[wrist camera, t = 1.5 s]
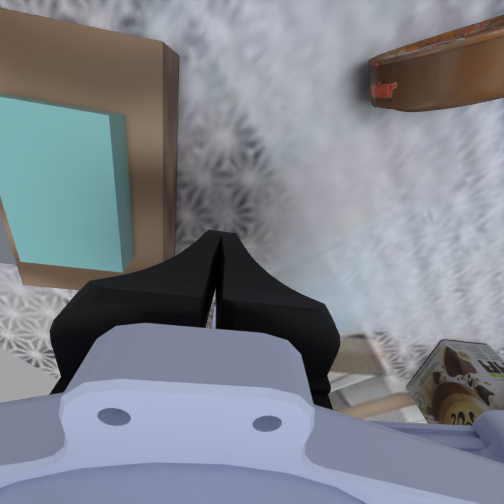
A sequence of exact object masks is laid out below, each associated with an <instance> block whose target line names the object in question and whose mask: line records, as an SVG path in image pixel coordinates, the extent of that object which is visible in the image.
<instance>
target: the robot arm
mask: <svg viewBox="0 0 504 504" xmlns="http://www.w3.org/2000/svg"><path fill="white" fill-rule="evenodd" d="M215 288H216V304H215V305H214V313H213V321H212V329H210V328H206V324H207V320H208V316H209V312H210V308H211V304H212V300H213V296H214V292H215ZM50 339H51V344H52V348H53V351H54V354H55V358H56V361H57V365H58V368H59V371H60V375H61V378H60V379H59V381H58V382H57V384H56V385H55V387H54V389H53V390H52V391H51V393H50V394H49V395H45V396H39V397H32V398H27V399H21V400H14V401H8V402H2V403H0V504H504V410H490V411H487V412H485V413H483V414H481V415H480V416H479V417H478V418H477V419H476V420H475V421H474V423H473V425H472V426H466V425H445V424H424V423H403V422H382V421H366V420H363V419H359V418H356V417H353V416H350V415H347V414H343V413H340V412H337V411H334V410H333V409H332V405H331V402H330V399H329V396H328V393H330V391H331V386H330V383H329V380H328V377H327V375H328V373H329V371H330V369H331V366H332V364H333V362H334V360H335V358H336V356H337V354H338V351H339V347H340V335H339V332H338V330H337V328H336V325H335V323H334V321H333V319H332V316H331V314H330V313H329V311H328V309H327V307H326V305H325V304H323V303H321V302H318V301H316V300H314V299H311V298H309V297H307V296H304V295H302V294H300V293H298V292H296V291H295V290H293V289H291V288H289V287H287V286H286V285H284V284H282V283H281V282H280V281H278V280H277V279H275V278H274V277H272V276H271V275H270V274H269V273H267V272H266V271H265V270H264V269H263V268H262V267H261V266H260V265H259V264H258V263H257V262H256V261H255V260H254V259H253V258H252V257H251V255H250V254H249V253H248V251H247V250H246V248H245V247H244V245H243V244H242V242H241V241H240V239H239V237H238V235H237V234H236V233H229V232H222V231H214V230H208V231H207V232H205V233H204V234H203V235H202V236H201V237H200V238H199V239H198V240H197V241H196V242H194V243H193V244H192V245H191V246H189V247H188V248H187V249H185V250H184V251H182V252H181V253H179V254H178V255H176V256H174V257H172V258H170V259H168V260H166V261H164V262H162V263H159V264H157V265H154V266H151V267H149V268H146V269H143V270H140V271H136V272H132V273H128V274H124V275H120V276H114V277H109V278H103V279H97V280H89V281H88V282H87V283H86V284H85V285H84V286H83V287H82V288H81V289H80V290H79V291H78V292H77V294H76V295H75V296H74V297H73V298H72V299H71V301H70V302H69V303H68V304H67V305H66V306H65V308H64V309H63V310H62V311H61V312H60V314H59V315H58V316H57V317H56V318H55V319H54V321H53V323H52V326H51V329H50Z"/></svg>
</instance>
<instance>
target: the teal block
mask: <svg viewBox="0 0 504 504" xmlns="http://www.w3.org/2000/svg"><path fill="white" fill-rule="evenodd" d="M0 197H1V200H2V203H3V206H4V210H5V213H6V216H7V219H8V223H9V226H10V229H11V232H12V236H13V239H14V242H15V245H16V249H17V252H18V255H19V259H20V262H28V263H38V264H47V265H56V266H66V267H75V268H85V269H94V270H104V271H113V272H122V273H123V272H124V270H125V269H126V267H127V266H128V264H129V263H130V262H131V260H132V259H133V257H134V251H133V235H132V219H131V204H130V188H129V172H128V156H127V140H126V124H125V114H120V113H114V112H108V111H102V110H96V109H91V108H85V107H79V106H73V105H68V104H62V103H56V102H50V101H45V100H39V99H33V98H27V97H22V96H16V95H10V94H4V93H0Z"/></svg>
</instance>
